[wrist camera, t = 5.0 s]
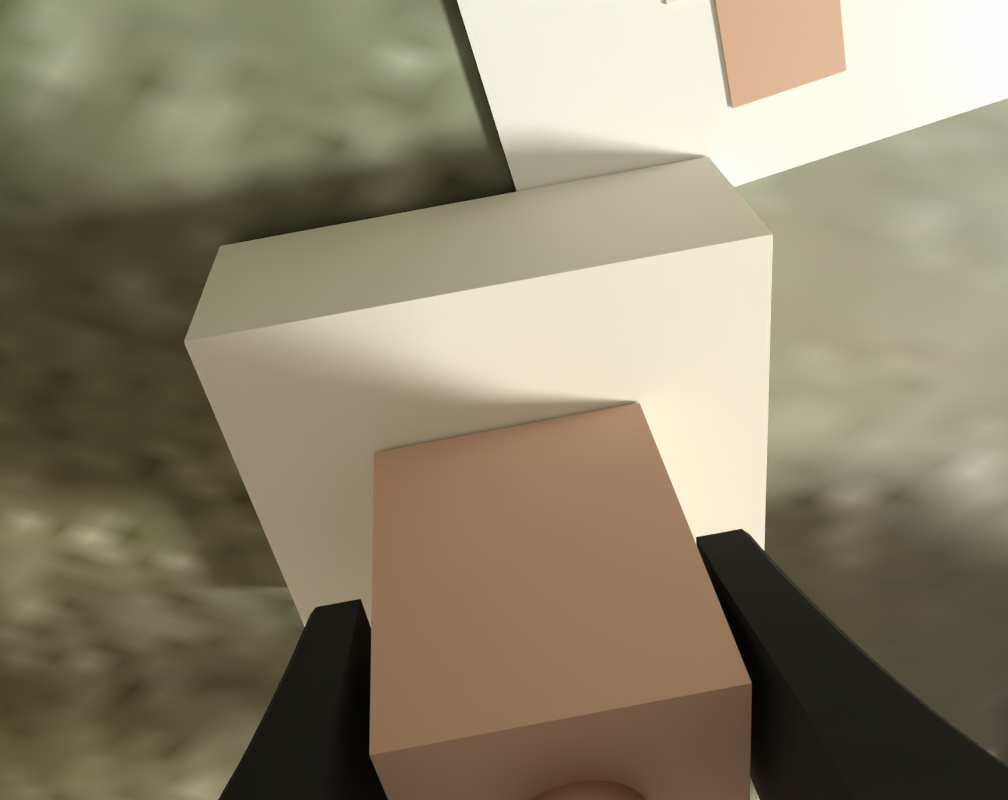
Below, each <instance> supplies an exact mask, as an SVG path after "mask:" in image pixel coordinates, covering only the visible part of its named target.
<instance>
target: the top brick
mask: <svg viewBox="0 0 1008 800" xmlns="http://www.w3.org/2000/svg"><path fill="white" fill-rule="evenodd" d="M751 702H752V682H751V680H750V677H749V675H748V672H747V670H746V667H745V665H744V662H743V660H742V657H741V655H740V652H739V650H738V647H737V645H736V642H735V640H734V637H733V635H732V632H731V630H730V627H729V625H728V622H727V620H726V617H725V615H724V612H723V610H722V607H721V605H720V602H719V600H718V597H717V595H716V592H715V590H714V587H713V585H712V582H711V580H710V577H709V575H708V572H707V570H706V568H705V565H704V563H703V560H702V558H701V555H700V553H699V550H698V548H697V545H696V543H695V540H694V538H693V535H692V533H691V530H690V528H689V525H688V523H687V520H686V518H685V515H684V513H683V510H682V508H681V505H680V503H679V500H678V498H677V495H676V493H675V490H674V488H673V485H672V483H671V480H670V478H669V475H668V473H667V470H666V468H665V465H664V463H663V460H662V458H661V455H660V453H659V450H658V448H657V445H656V443H655V440H654V438H653V435H652V433H651V430H650V428H649V425H648V423H647V420H646V418H645V415H644V413H643V410H642V408H641V405H640V403H634V404H628V405H623V406H618V407H613V408H607V409H602V410H597V411H591V412H586V413H581V414H576V415H570V416H565V417H560V418H554V419H549V420H544V421H539V422H533V423H528V424H523V425H517V426H512V427H507V428H501V429H496V430H491V431H486V432H480V433H475V434H470V435H464V436H459V437H454V438H449V439H443V440H438V441H433V442H427V443H422V444H417V445H411V446H406V447H401V448H396V449H390V450H385V451H380V452H374V496H373V558H372V620H371V683H370V745H369V756H370V758H371V760H372V763H373V765H374V767H375V770H376V772H377V775H378V777H379V779H380V782H381V784H382V786H383V789H384V791H385V793H386V796H387V798H388V800H750V755H751Z"/></svg>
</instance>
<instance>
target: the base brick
mask: <svg viewBox="0 0 1008 800" xmlns="http://www.w3.org/2000/svg"><path fill="white" fill-rule="evenodd" d="M772 247H773V234H772V233H771V231H770V230H769V229H768V228H767V227H766V225H765V224H764V223H763V222H762V221H761V219H760V218H759V217H758V216H757V214H756V213H755V212H754V211H753V210H752V208H751V207H750V206H749V205H748V204H747V202H746V201H745V200H744V199H743V198H742V196H741V195H740V194H739V193H738V192H737V190H736V189H735V188H734V187H733V185H732V184H731V183H730V182H729V181H728V179H727V178H726V177H725V176H724V175H723V173H722V172H721V171H720V170H719V169H718V167H717V166H716V165H715V164H714V163H713V161H712V160H711V159H710V158H709V156H708V157H703V158H697V159H692V160H686V161H681V162H675V163H670V164H665V165H659V166H654V167H648V168H643V169H637V170H632V171H626V172H621V173H616V174H610V175H605V176H599V177H594V178H588V179H583V180H577V181H572V182H566V183H561V184H556V185H550V186H545V187H539V188H534V189H528V190H523V191H517V192H512V193H507V194H501V195H496V196H490V197H485V198H479V199H474V200H468V201H463V202H457V203H452V204H447V205H441V206H436V207H430V208H425V209H419V210H414V211H408V212H403V213H398V214H392V215H387V216H381V217H376V218H370V219H365V220H359V221H354V222H349V223H343V224H338V225H332V226H327V227H321V228H316V229H310V230H305V231H299V232H294V233H289V234H283V235H278V236H272V237H267V238H261V239H256V240H250V241H245V242H240V243H234V244H229V245H223V246H220V247H219V250H218V252H217V255H216V258H215V260H214V263H213V266H212V268H211V271H210V274H209V276H208V279H207V282H206V284H205V287H204V290H203V292H202V295H201V298H200V300H199V303H198V305H197V308H196V311H195V313H194V316H193V319H192V321H191V324H190V327H189V329H188V332H187V335H186V337H185V340H184V344H185V346H186V348H187V351H188V353H189V356H190V358H191V360H192V363H193V365H194V367H195V370H196V372H197V374H198V377H199V379H200V381H201V384H202V386H203V388H204V391H205V393H206V396H207V398H208V400H209V403H210V405H211V407H212V410H213V412H214V414H215V417H216V419H217V421H218V424H219V426H220V429H221V431H222V433H223V436H224V438H225V440H226V443H227V445H228V447H229V450H230V452H231V454H232V457H233V459H234V462H235V464H236V466H237V469H238V471H239V473H240V476H241V478H242V480H243V483H244V485H245V487H246V490H247V492H248V494H249V497H250V499H251V502H252V504H253V506H254V509H255V511H256V513H257V516H258V518H259V520H260V523H261V525H262V527H263V530H264V532H265V535H266V537H267V539H268V542H269V544H270V546H271V549H272V551H273V553H274V556H275V558H276V560H277V563H278V565H279V568H280V570H281V572H282V575H283V577H284V579H285V582H286V584H287V586H288V589H289V591H290V593H291V596H292V598H293V600H294V603H295V605H296V608H297V610H298V612H299V615H300V617H301V619H302V622H303V624H304V626H305V625H306V623H307V620H308V618H309V616H310V614H311V613H312V611H313V610H314V609H315V608H316V607H319V606H324V605H330V604H335V603H341V602H346V601H351V600H357V599H361V601H362V604H363V607H364V610H365V612H366V615H367V618H368V621H369V624H370V627H371V620H372V558H373V496H374V452H380V451H385V450H390V449H396V448H401V447H406V446H411V445H417V444H422V443H427V442H433V441H438V440H443V439H449V438H454V437H459V436H464V435H470V434H475V433H480V432H486V431H491V430H496V429H501V428H507V427H512V426H517V425H523V424H528V423H533V422H539V421H544V420H549V419H554V418H560V417H565V416H570V415H576V414H581V413H586V412H591V411H597V410H602V409H607V408H613V407H618V406H623V405H628V404H634V403H640V405H641V408H642V410H643V413H644V415H645V418H646V420H647V423H648V425H649V428H650V430H651V433H652V435H653V438H654V440H655V443H656V445H657V448H658V450H659V453H660V455H661V458H662V460H663V463H664V465H665V468H666V470H667V473H668V475H669V478H670V480H671V483H672V485H673V488H674V490H675V493H676V495H677V498H678V500H679V503H680V505H681V508H682V510H683V513H684V515H685V518H686V520H687V523H688V525H689V528H690V530H691V533H692V535H693V538H694V540H695V543H696V537H699V536H705V535H710V534H716V533H721V532H727V531H732V530H738V529H743V530H744V531H746V532H747V533H749V534H750V535H751V536H752V537H753V539H754V540H755V541H756V542H757V543H758V544H759V545H760V547H761V548H762V549H763V550H764V546H765V509H766V471H767V434H768V396H769V359H770V322H771V284H772Z"/></svg>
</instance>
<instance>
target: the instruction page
mask: <svg viewBox="0 0 1008 800" xmlns="http://www.w3.org/2000/svg"><path fill="white" fill-rule="evenodd" d="M457 2H458V5H459V9H460V12H461V15H462V18H463V21H464V25H465V28H466V31H467V34H468V37H469V41H470V44H471V47H472V50H473V53H474V57H475V60H476V63H477V66H478V69H479V73H480V76H481V79H482V82H483V85H484V89H485V92H486V95H487V98H488V101H489V105H490V108H491V111H492V114H493V117H494V121H495V124H496V127H497V130H498V133H499V137H500V140H501V143H502V146H503V149H504V153H505V156H506V159H507V162H508V165H509V169H510V172H511V175H512V178H513V182H514V185H515V188H516V191H523V190H528V189H534V188H539V187H545V186H550V185H556V184H561V183H566V182H572V181H577V180H583V179H588V178H594V177H599V176H605V175H610V174H616V173H621V172H626V171H632V170H637V169H643V168H648V167H654V166H659V165H665V164H670V163H675V162H681V161H686V160H692V159H697V158H703V157H708V156H709V158H710V159H711V160H712V161H713V163H714V164H715V165H716V166H717V167H718V169H719V170H720V171H721V172H722V173H723V175H724V176H725V177H726V178H727V179H728V181H729V182H730V183H731V184H732V185H733V187H735V186H738V185H741V184H744V183H747V182H750V181H754V180H757V179H760V178H763V177H766V176H769V175H772V174H775V173H778V172H781V171H784V170H787V169H790V168H794V167H797V166H800V165H803V164H806V163H809V162H812V161H815V160H818V159H821V158H824V157H827V156H831V155H834V154H837V153H840V152H843V151H846V150H849V149H852V148H855V147H858V146H861V145H864V144H867V143H871V142H874V141H877V140H880V139H883V138H886V137H889V136H892V135H895V134H898V133H901V132H904V131H908V130H911V129H914V128H917V127H920V126H923V125H926V124H929V123H932V122H935V121H938V120H941V119H944V118H948V117H951V116H954V115H957V114H960V113H963V112H966V111H969V110H972V109H975V108H978V107H981V106H985V105H988V104H991V103H994V102H997V101H1000V100H1003V99H1006V98H1008V0H457Z"/></svg>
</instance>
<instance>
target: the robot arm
mask: <svg viewBox="0 0 1008 800" xmlns="http://www.w3.org/2000/svg"><path fill="white" fill-rule="evenodd" d="M696 545H697V548H698V550H699V553H700V555H701V558H702V560H703V563H704V565H705V568H706V570H707V572H708V575H709V577H710V580H711V582H712V585H713V587H714V590H715V592H716V595H717V597H718V600H719V602H720V605H721V607H722V610H723V612H724V615H725V617H726V620H727V622H728V625H729V627H730V630H731V632H732V635H733V637H734V640H735V642H736V645H737V647H738V650H739V652H740V655H741V657H742V660H743V662H744V665H745V667H746V670H747V672H748V675H749V677H750V680H751V682H752V702H751V755H750V777H751V780H752V782H753V784H754V787H755V789H756V791H757V794H758V796H759V798H760V800H1008V766H1007V765H1006V764H1004V763H1003V762H1001V761H1000V760H999V759H997V758H996V757H994V756H993V755H991V754H990V753H989V752H987V751H986V750H985V749H983V748H982V747H981V746H979V745H978V744H977V743H975V742H974V741H973V740H971V739H970V738H969V737H967V736H966V735H965V734H963V733H962V732H961V731H959V730H958V729H957V728H955V727H954V726H953V725H951V724H950V723H949V722H948V721H946V720H945V719H944V718H942V717H941V716H940V715H939V714H937V713H936V712H935V711H934V710H932V709H931V708H930V707H929V706H927V705H926V704H925V703H924V702H923V701H921V700H920V699H919V698H918V697H916V696H915V695H914V694H913V693H912V692H911V691H909V690H908V689H907V688H906V687H905V686H903V685H902V684H901V683H900V682H899V681H898V680H896V679H895V678H894V677H893V676H892V675H890V674H889V673H888V672H887V671H886V670H885V669H883V668H882V667H881V666H880V665H879V664H878V663H877V662H876V661H874V660H873V659H872V658H871V657H870V656H869V655H868V654H867V653H866V652H864V651H863V650H862V649H861V648H860V647H859V646H858V645H857V644H856V643H855V642H854V641H853V640H852V639H851V638H849V637H848V636H847V635H846V634H845V633H844V632H843V631H842V630H841V629H840V628H839V627H838V626H837V625H836V624H835V623H834V622H832V621H831V620H830V619H829V618H828V617H827V616H826V615H825V614H824V613H823V612H822V611H821V610H820V609H819V608H818V607H817V606H816V605H815V604H814V603H813V602H812V601H811V600H810V599H809V598H808V597H807V596H806V595H805V594H804V593H803V592H802V591H801V590H800V589H799V588H798V587H797V586H796V585H795V584H794V583H793V582H792V580H791V579H790V578H789V577H788V576H787V575H786V574H785V573H784V572H783V571H782V570H781V569H780V568H779V567H778V566H777V564H776V563H775V562H774V561H773V560H772V559H771V558H770V557H769V556H768V555H767V553H766V552H765V551H764V550H763V549H762V548H761V547H760V545H759V544H758V543H757V542H756V541H755V540H754V539H753V537H752V536H751V535H750V534H749V533H747V532H746V531H744V530H743V529H738V530H732V531H727V532H721V533H716V534H710V535H705V536H699V537H696ZM370 683H371V627H370V624H369V621H368V618H367V615H366V612H365V610H364V607H363V604H362V601H361V599H357V600H351V601H346V602H341V603H335V604H330V605H324V606H319V607H316V608H315V609H314V610H313V611H312V613H311V614H310V616H309V618H308V620H307V623H306V625H305V628H304V630H303V632H302V635H301V637H300V639H299V642H298V644H297V646H296V649H295V651H294V653H293V655H292V658H291V660H290V662H289V664H288V666H287V669H286V671H285V673H284V675H283V677H282V679H281V681H280V683H279V686H278V688H277V690H276V692H275V694H274V696H273V698H272V700H271V702H270V704H269V706H268V708H267V710H266V712H265V714H264V716H263V718H262V720H261V722H260V724H259V726H258V728H257V730H256V732H255V734H254V736H253V738H252V740H251V742H250V744H249V746H248V748H247V750H246V751H245V753H244V755H243V757H242V759H241V761H240V763H239V764H238V766H237V768H236V770H235V771H234V773H233V775H232V777H231V778H230V780H229V782H228V784H227V785H226V787H225V789H224V791H223V792H222V794H221V796H220V798H219V799H218V800H388V798H387V796H386V793H385V791H384V789H383V786H382V784H381V782H380V779H379V777H378V775H377V772H376V770H375V767H374V765H373V763H372V760H371V758H370V756H369V745H370Z"/></svg>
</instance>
